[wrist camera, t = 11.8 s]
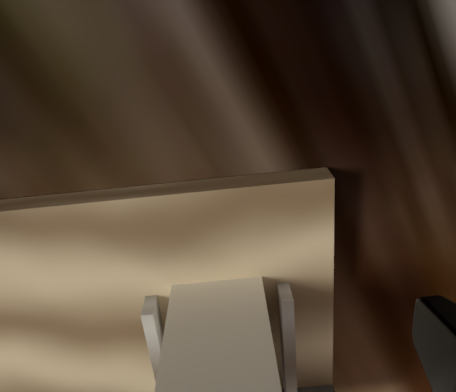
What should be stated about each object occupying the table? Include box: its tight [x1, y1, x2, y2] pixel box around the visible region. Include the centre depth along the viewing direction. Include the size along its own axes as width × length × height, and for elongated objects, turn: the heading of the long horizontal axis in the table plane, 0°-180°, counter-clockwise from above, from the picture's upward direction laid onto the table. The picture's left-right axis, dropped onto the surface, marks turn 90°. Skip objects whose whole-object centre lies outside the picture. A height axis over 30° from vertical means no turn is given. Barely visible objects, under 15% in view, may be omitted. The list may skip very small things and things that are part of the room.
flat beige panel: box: [0, 167, 335, 392], centre depth 22 cm, size 14×22×4 cm, turn 96°
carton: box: [154, 277, 282, 392], centre depth 19 cm, size 5×7×7 cm, turn 5°
